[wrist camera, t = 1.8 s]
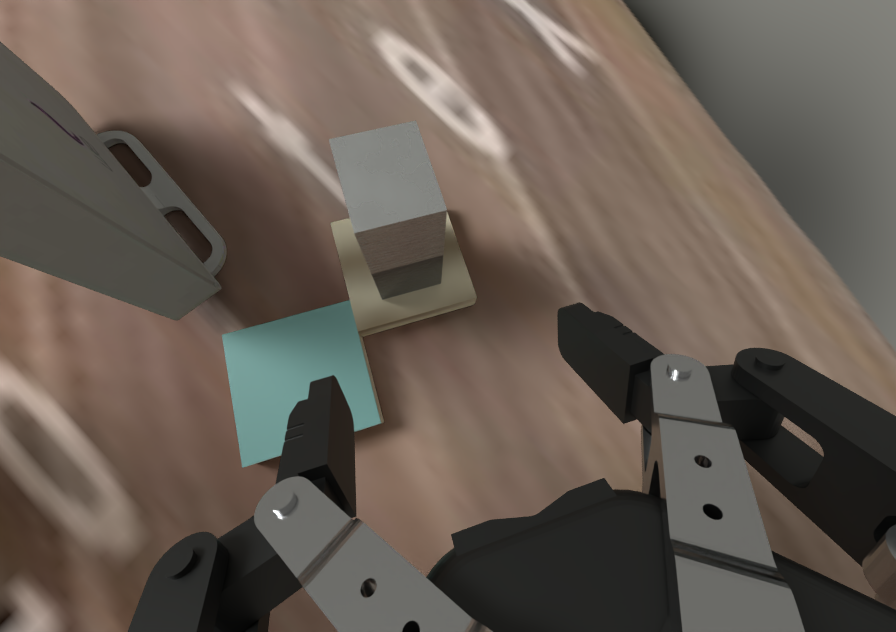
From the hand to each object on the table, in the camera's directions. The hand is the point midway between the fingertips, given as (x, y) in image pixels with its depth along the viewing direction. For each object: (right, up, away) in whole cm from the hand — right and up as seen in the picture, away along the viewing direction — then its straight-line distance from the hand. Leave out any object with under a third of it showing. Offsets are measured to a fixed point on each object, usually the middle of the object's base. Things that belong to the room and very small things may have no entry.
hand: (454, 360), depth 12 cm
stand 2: (-4, +6, +19) cm, 21 cm away
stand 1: (-12, -4, +16) cm, 20 cm away
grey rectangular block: (-4, +6, +17) cm, 19 cm away
